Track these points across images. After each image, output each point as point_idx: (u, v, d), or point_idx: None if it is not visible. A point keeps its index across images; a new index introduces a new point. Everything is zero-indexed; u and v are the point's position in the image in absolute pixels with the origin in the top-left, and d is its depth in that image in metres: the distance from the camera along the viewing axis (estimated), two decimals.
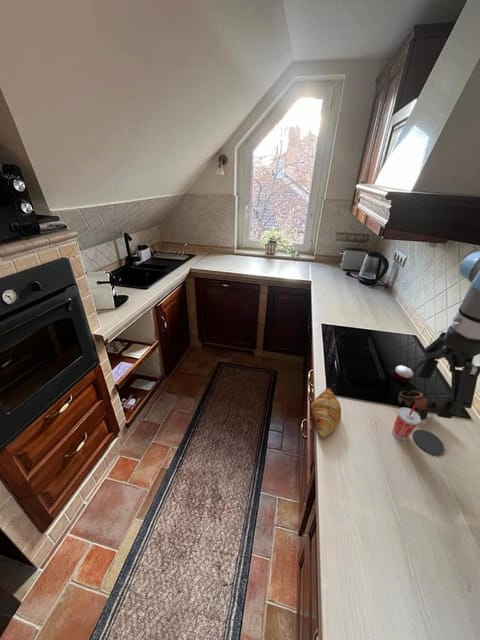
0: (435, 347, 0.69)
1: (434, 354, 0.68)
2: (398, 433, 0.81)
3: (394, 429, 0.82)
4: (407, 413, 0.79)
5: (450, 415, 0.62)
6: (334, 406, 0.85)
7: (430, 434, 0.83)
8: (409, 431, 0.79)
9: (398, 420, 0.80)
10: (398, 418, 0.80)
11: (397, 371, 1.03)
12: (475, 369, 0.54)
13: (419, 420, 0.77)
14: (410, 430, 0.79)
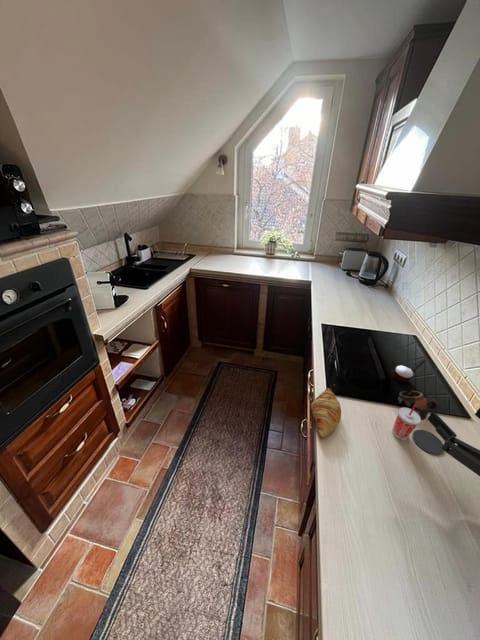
0: None
1: None
2: (398, 433, 0.81)
3: (394, 429, 0.82)
4: (407, 413, 0.79)
5: None
6: (334, 406, 0.85)
7: (430, 434, 0.83)
8: (409, 431, 0.79)
9: (398, 420, 0.80)
10: (398, 418, 0.80)
11: (397, 371, 1.03)
12: None
13: (419, 420, 0.77)
14: (410, 430, 0.79)
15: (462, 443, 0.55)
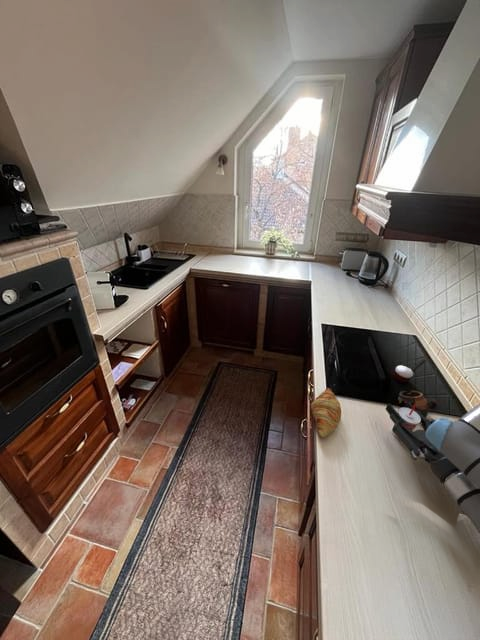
0: None
1: None
2: None
3: None
4: (407, 413, 0.79)
5: None
6: (334, 406, 0.85)
7: None
8: None
9: None
10: None
11: (397, 371, 1.03)
12: None
13: (419, 420, 0.77)
14: None
15: (404, 427, 0.76)
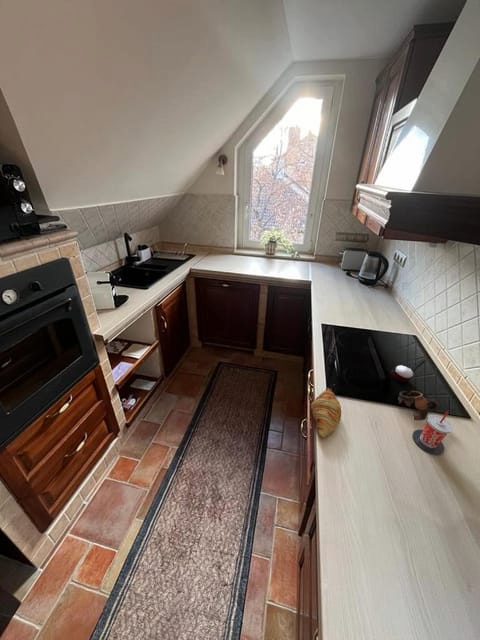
0: None
1: None
2: (428, 441, 0.78)
3: (423, 437, 0.80)
4: (438, 421, 0.77)
5: None
6: (334, 406, 0.85)
7: None
8: (440, 439, 0.76)
9: (428, 428, 0.77)
10: (428, 426, 0.77)
11: (397, 371, 1.03)
12: None
13: (451, 428, 0.75)
14: (441, 438, 0.76)
15: None
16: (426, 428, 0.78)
